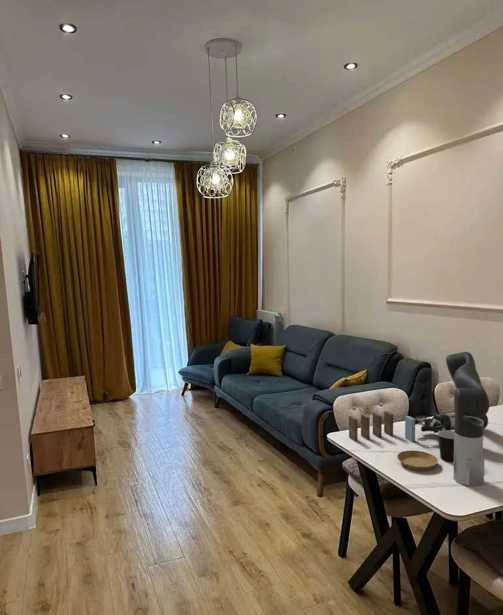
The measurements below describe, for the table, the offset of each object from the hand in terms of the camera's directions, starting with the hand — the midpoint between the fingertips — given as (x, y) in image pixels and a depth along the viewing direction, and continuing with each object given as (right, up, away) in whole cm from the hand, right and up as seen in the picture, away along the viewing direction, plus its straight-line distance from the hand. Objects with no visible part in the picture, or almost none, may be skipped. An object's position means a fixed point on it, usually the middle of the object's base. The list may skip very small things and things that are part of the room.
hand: (415, 425), depth 198 cm
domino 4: (-10, -6, +7) cm, 13 cm away
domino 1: (-27, -7, +2) cm, 28 cm away
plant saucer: (-8, -9, -24) cm, 26 cm away
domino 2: (-21, -6, +4) cm, 22 cm away
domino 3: (-15, -6, +6) cm, 17 cm away
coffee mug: (+8, -8, -20) cm, 22 cm away
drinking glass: (+19, -7, -10) cm, 23 cm away
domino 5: (-2, -6, 0) cm, 7 cm away
